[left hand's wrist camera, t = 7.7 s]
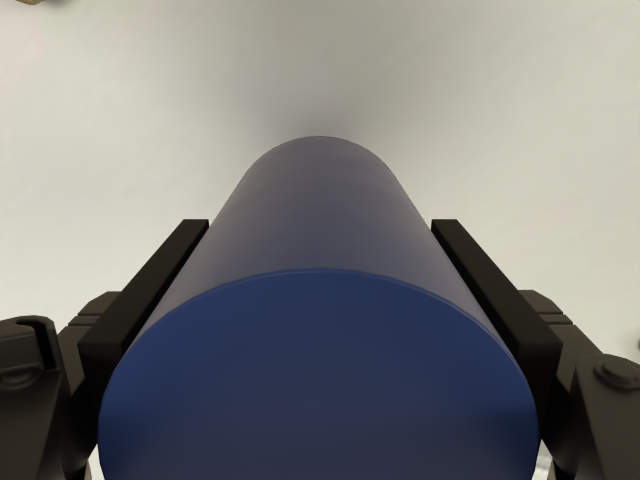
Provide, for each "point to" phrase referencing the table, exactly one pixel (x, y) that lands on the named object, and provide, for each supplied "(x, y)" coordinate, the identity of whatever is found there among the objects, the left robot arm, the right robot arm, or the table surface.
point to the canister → (318, 344)
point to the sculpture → (30, 1)
